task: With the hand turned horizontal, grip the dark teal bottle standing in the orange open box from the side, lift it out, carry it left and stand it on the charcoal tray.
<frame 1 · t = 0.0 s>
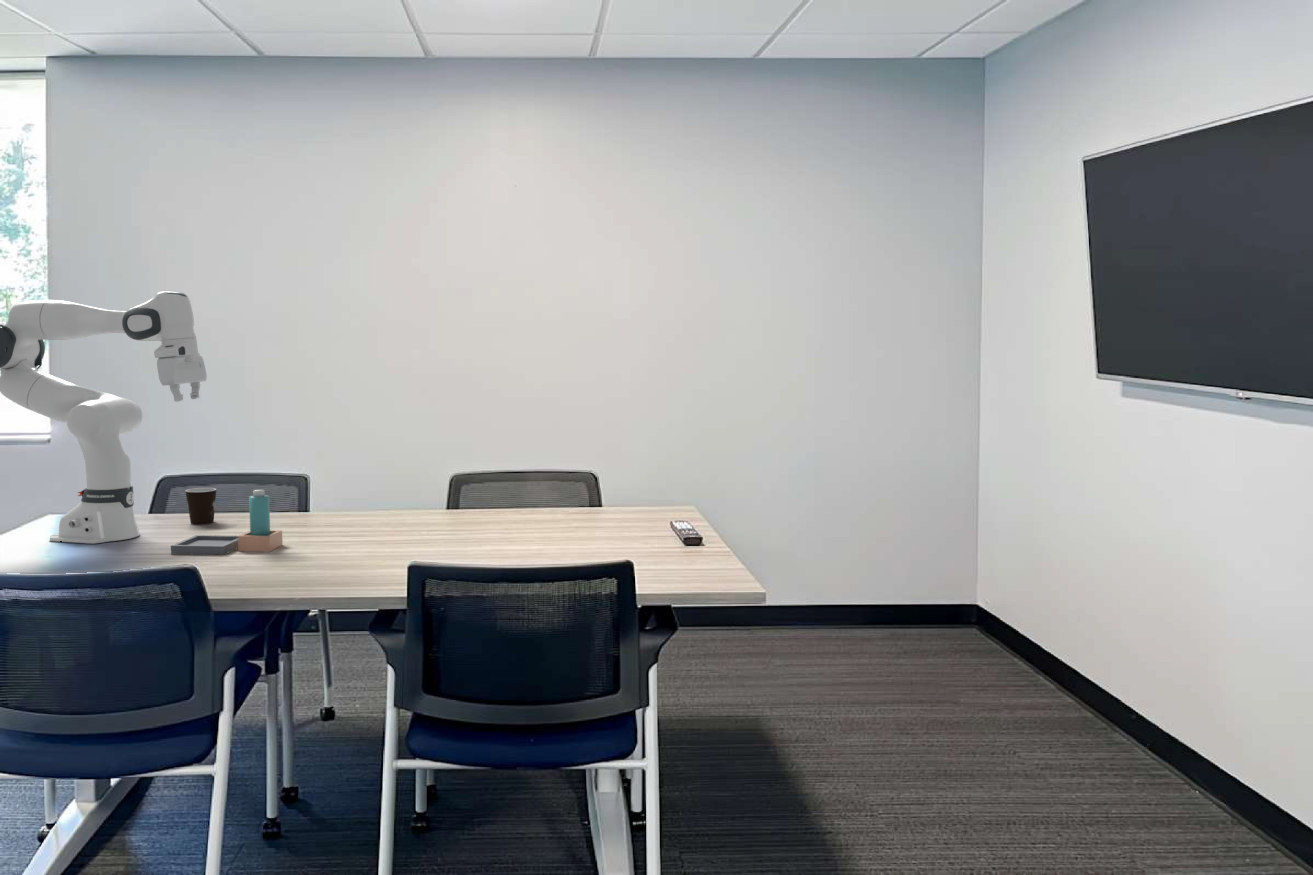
hand: (187, 400, 292), 39 cm above the table, tool pointing down, fingers open, 8 cm apart
orange open box: (260, 547, 284), on the table
bottle: (259, 519, 283), in the orange open box
tray: (209, 548, 282), on the table
coffee mug: (205, 522, 321), on the table
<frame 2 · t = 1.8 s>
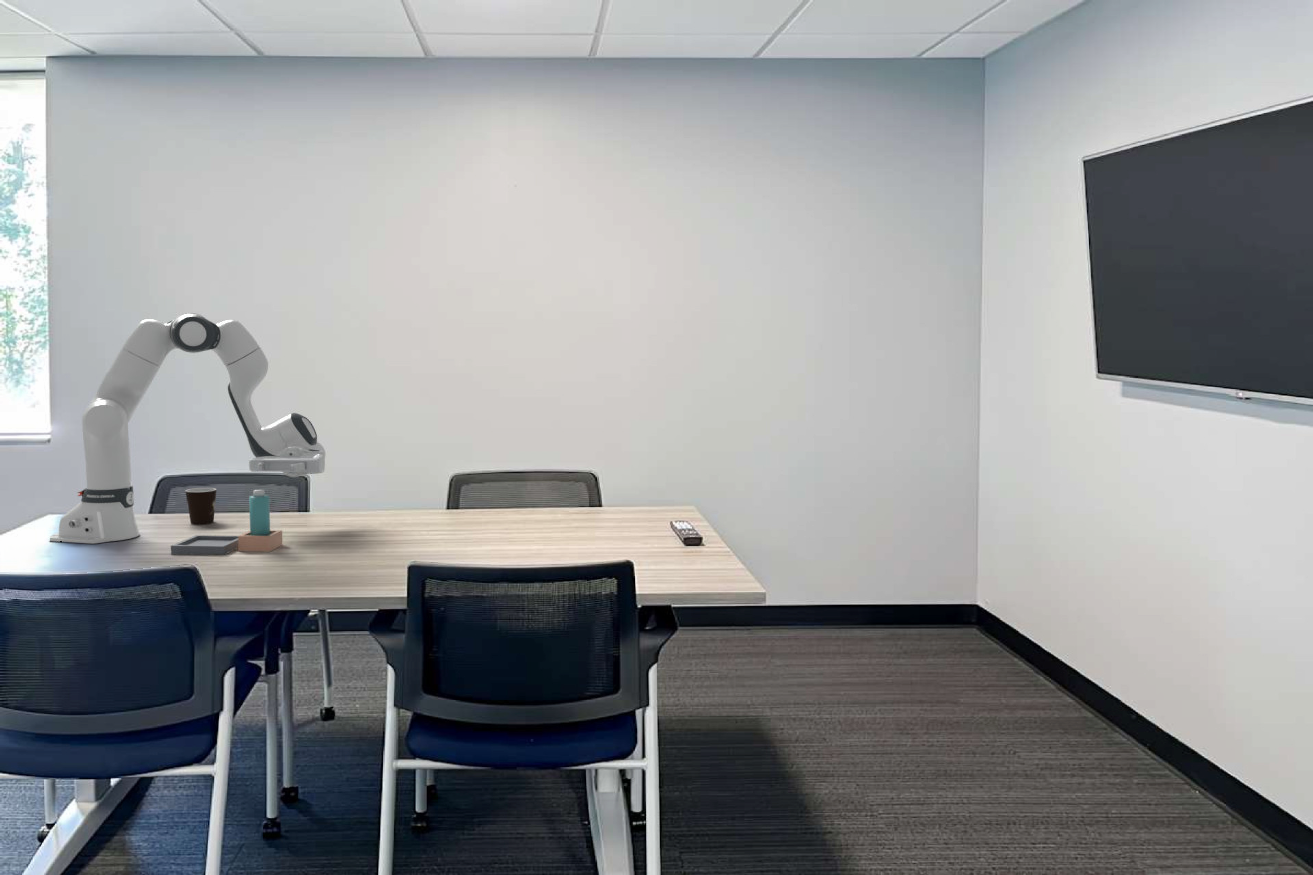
hand: (276, 468, 294), 20 cm above the table, tool horizontal, fingers open, 8 cm apart
nothing on the table moved.
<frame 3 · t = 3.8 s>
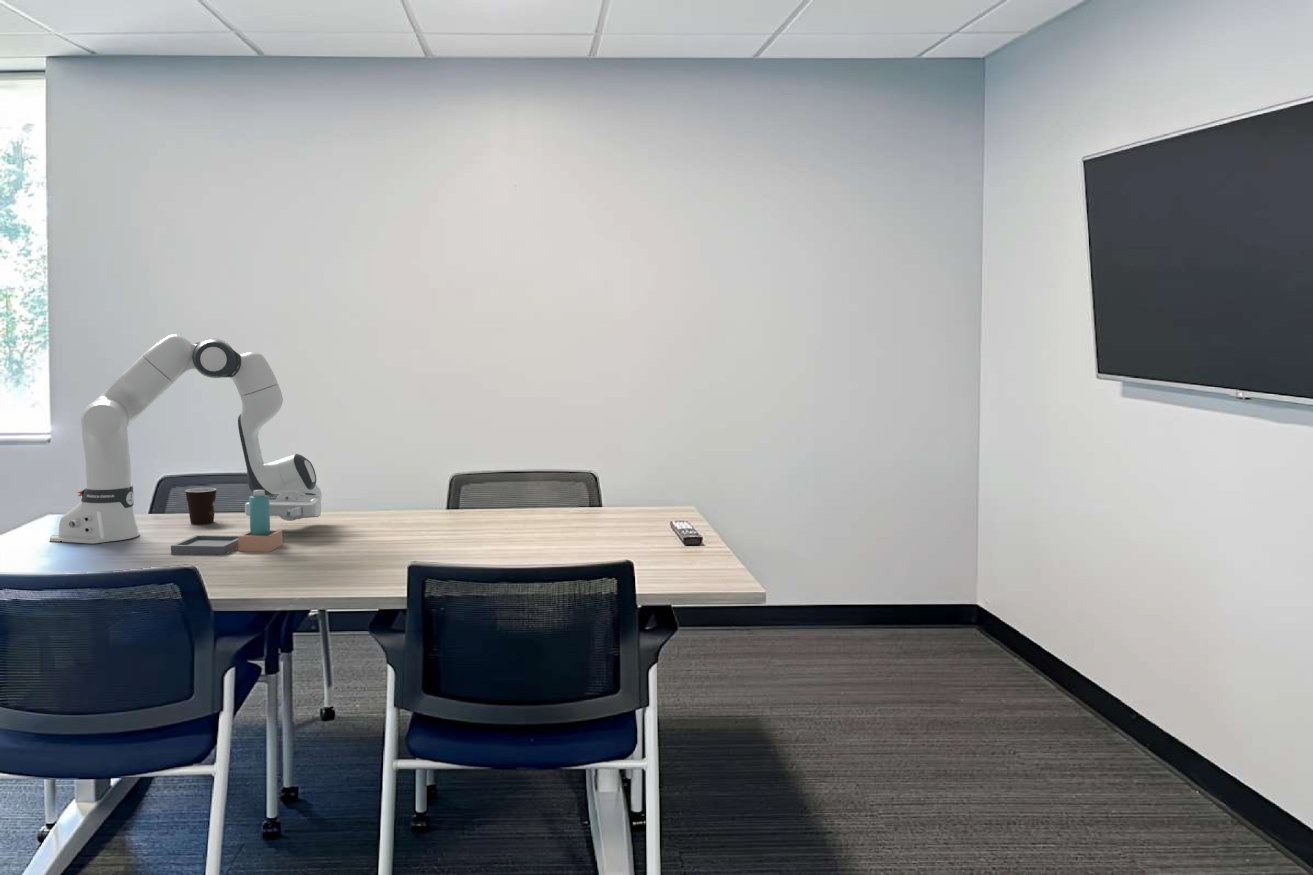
hand: (272, 513, 292), 8 cm above the table, tool horizontal, fingers open, 8 cm apart
nothing on the table moved.
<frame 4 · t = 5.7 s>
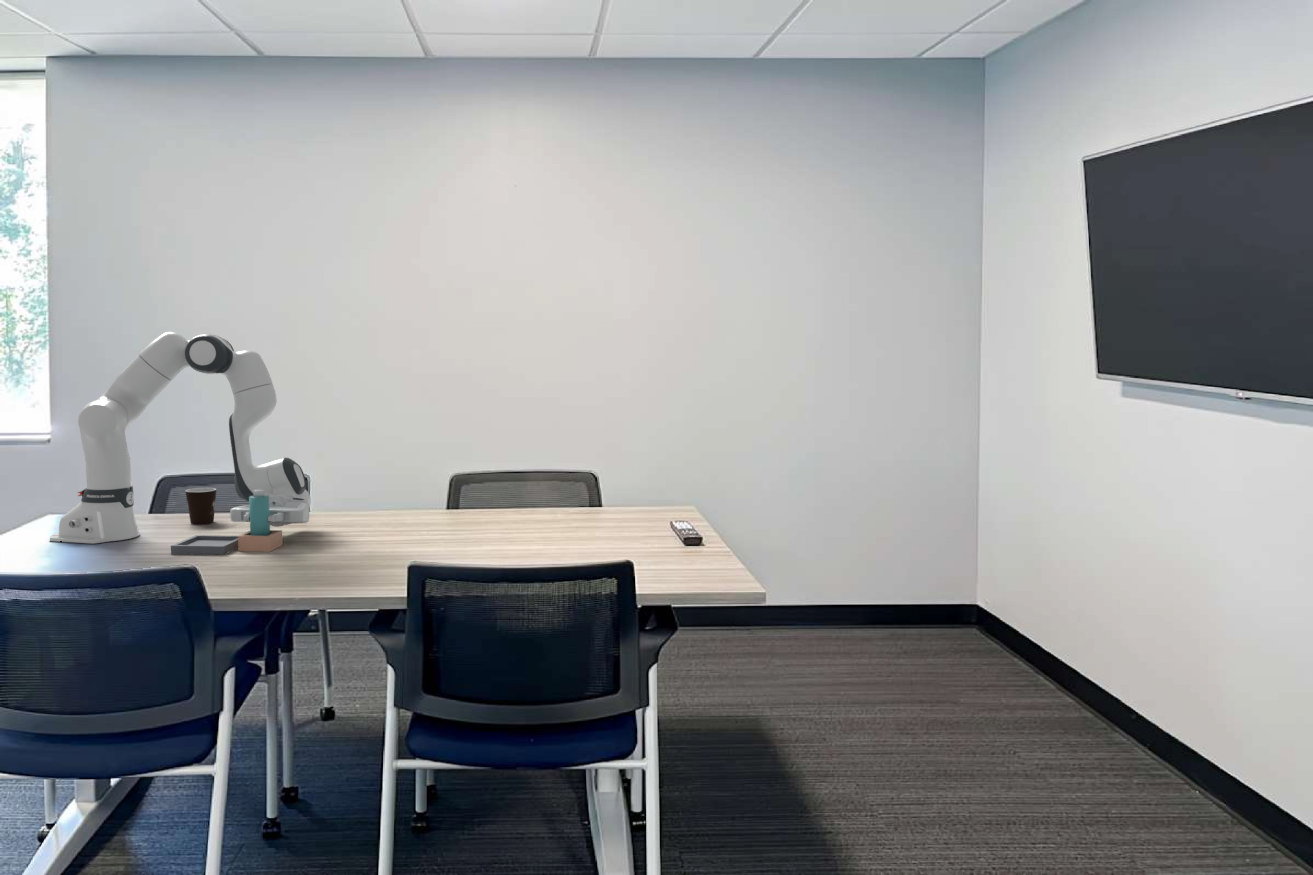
hand: (258, 519, 282), 8 cm above the table, tool horizontal, fingers closed on bottle, 5 cm apart
bottle: (259, 519, 283), in the orange open box, touching gripper
everything else where it was.
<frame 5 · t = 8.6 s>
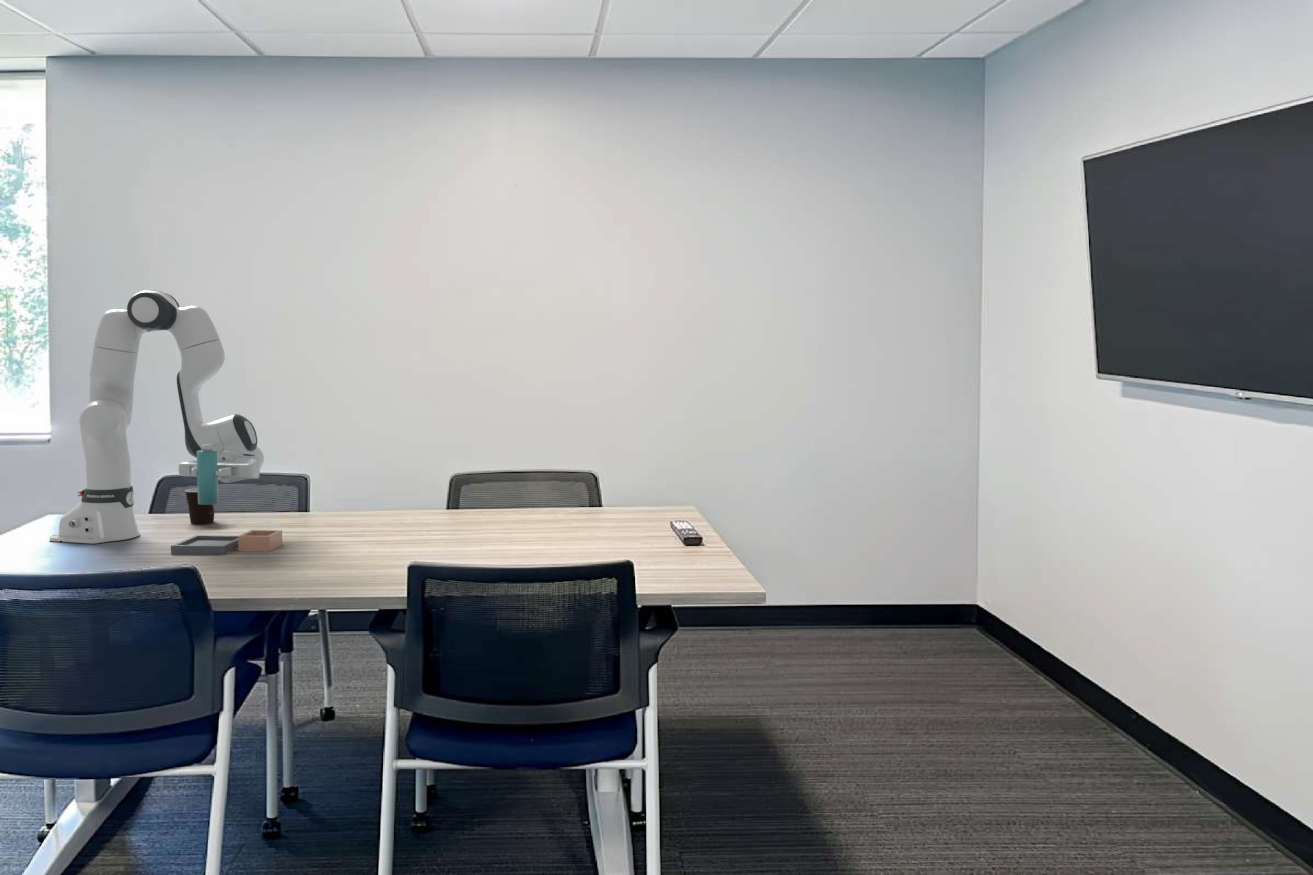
hand: (205, 472, 279), 21 cm above the table, tool horizontal, fingers closed on bottle, 5 cm apart
bottle: (207, 474, 280), point 20 cm above the table, touching gripper
everything else where it was.
when the fingers open (10 cm above the table, at t = 11.2 s): bottle stays where it is, resting on tray.
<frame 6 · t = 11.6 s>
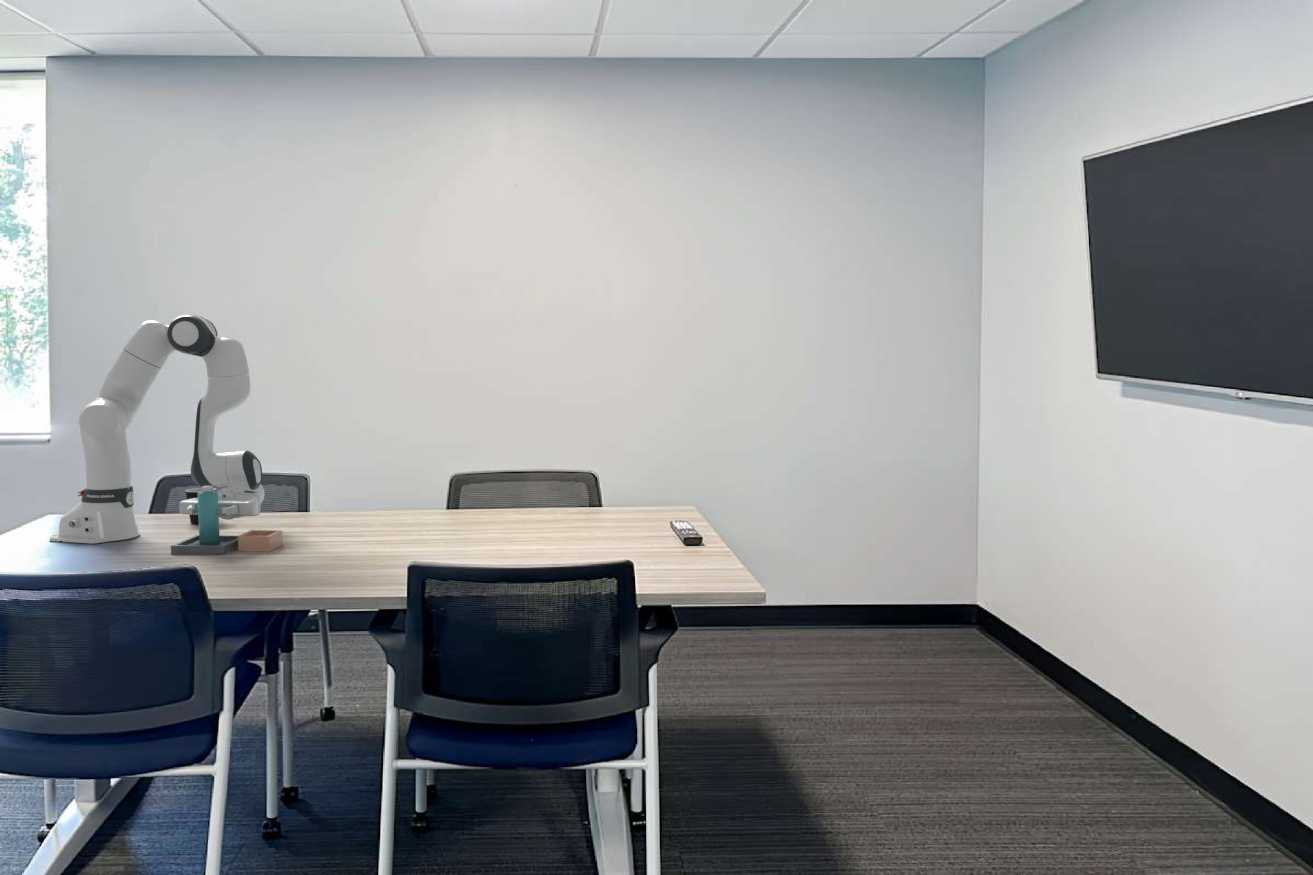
hand: (206, 511, 280), 10 cm above the table, tool horizontal, fingers open, 8 cm apart
bottle: (208, 515, 281), in the tray, point 9 cm above the table
everything else where it was.
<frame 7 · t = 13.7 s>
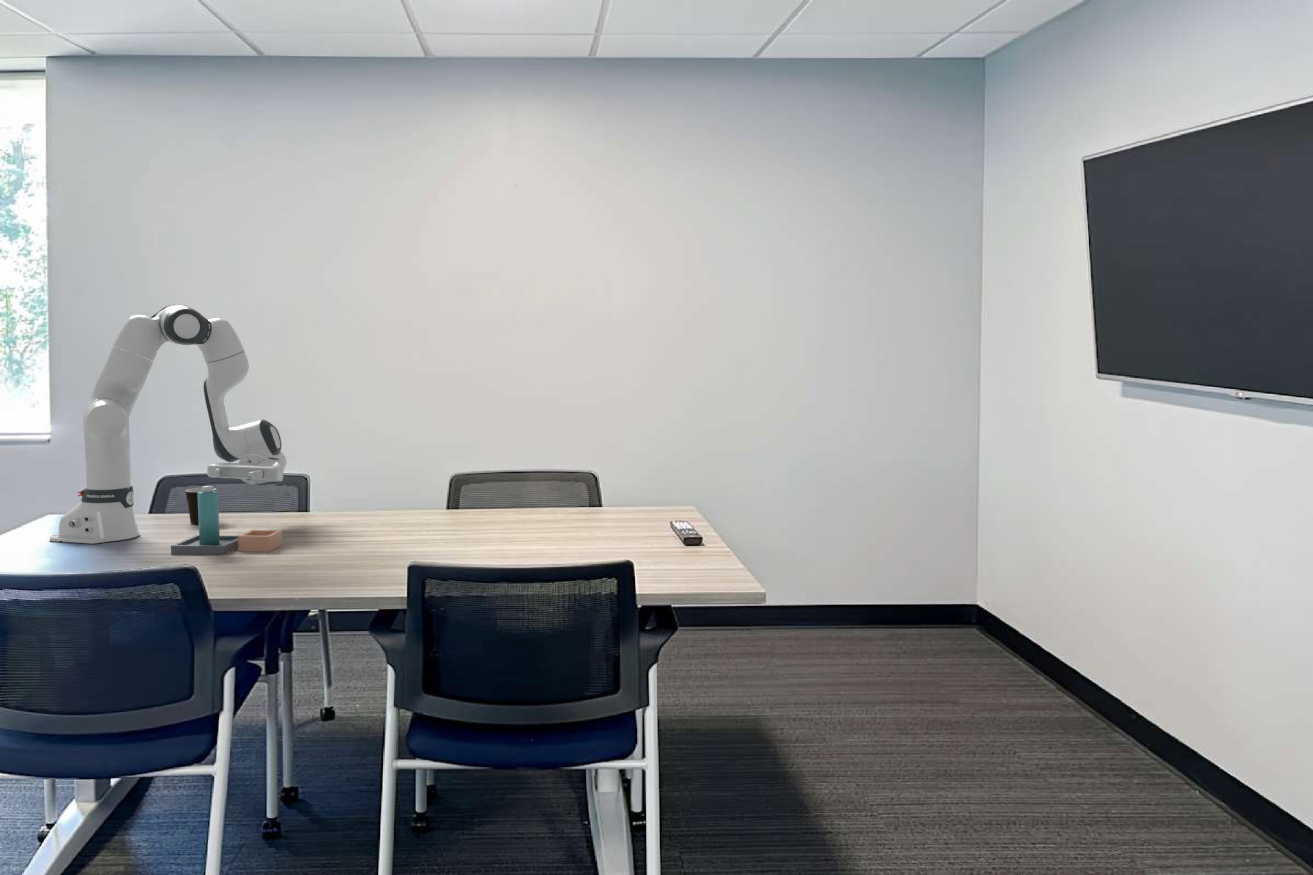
hand: (233, 474, 295), 18 cm above the table, tool horizontal, fingers open, 8 cm apart
nothing on the table moved.
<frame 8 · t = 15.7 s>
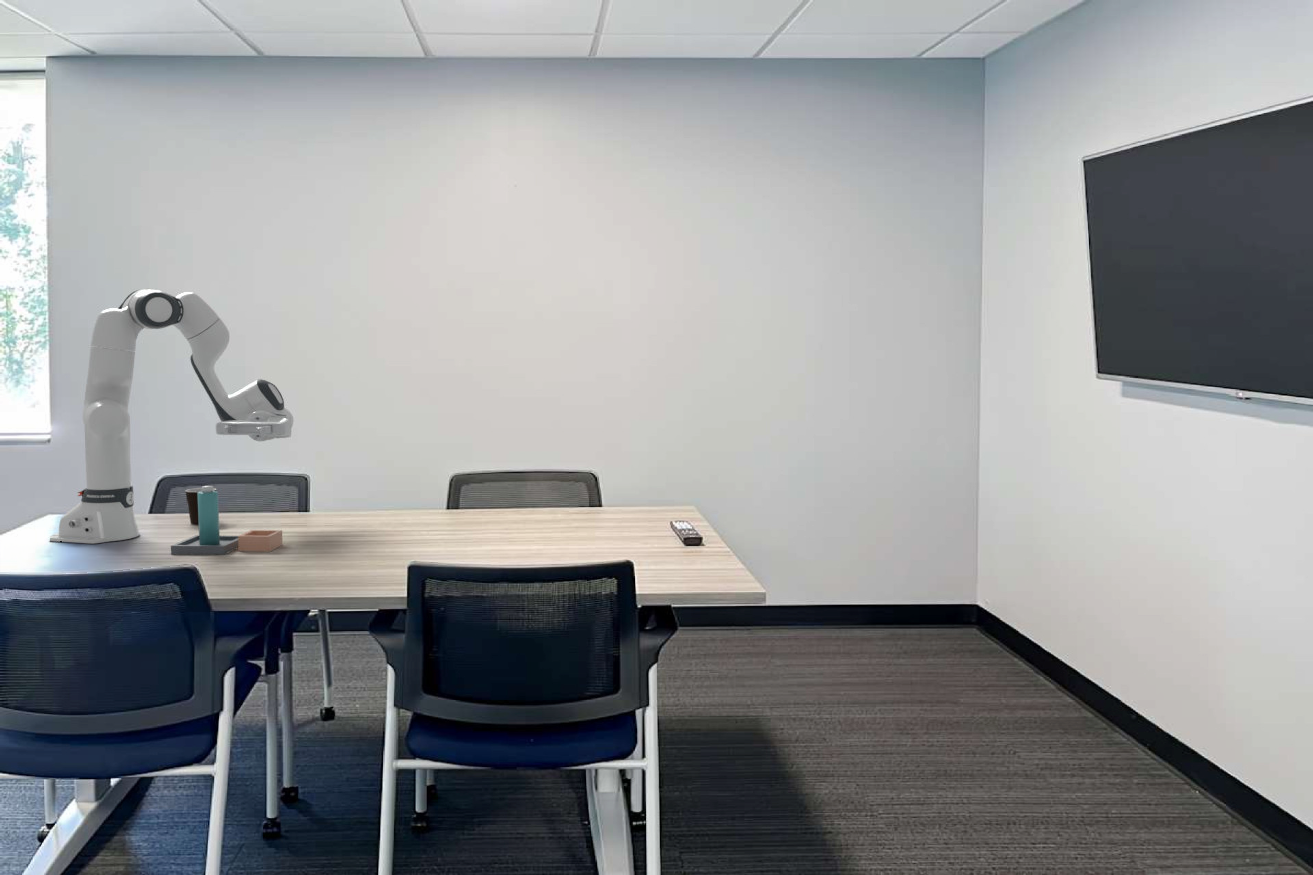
hand: (242, 430, 297), 30 cm above the table, tool horizontal, fingers open, 8 cm apart
nothing on the table moved.
at the end: bottle inside the target area on the tray (0.0 cm from its centre), point 9.0 cm above the tray's base; bottle tilted 0°; the gripper is holding nothing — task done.
